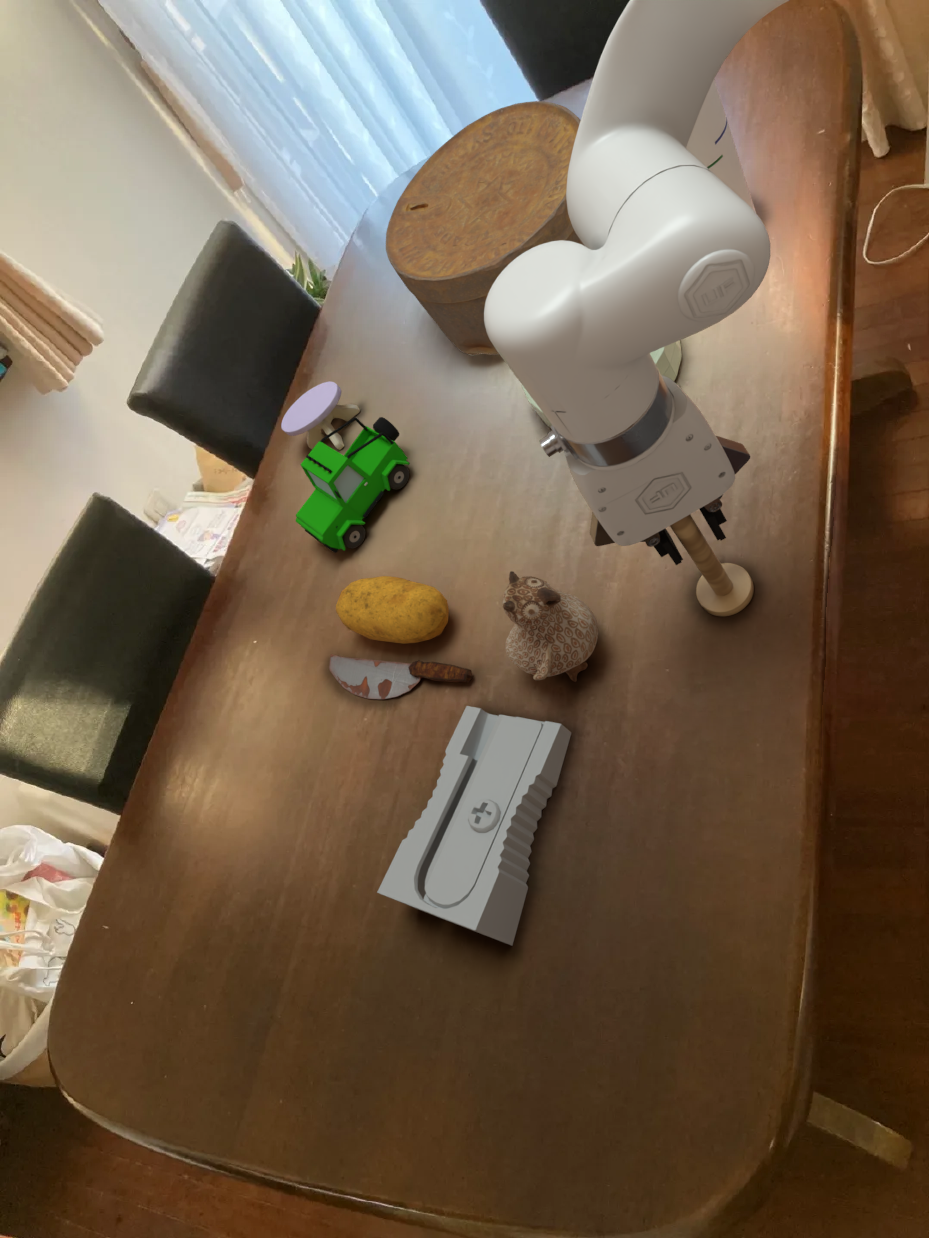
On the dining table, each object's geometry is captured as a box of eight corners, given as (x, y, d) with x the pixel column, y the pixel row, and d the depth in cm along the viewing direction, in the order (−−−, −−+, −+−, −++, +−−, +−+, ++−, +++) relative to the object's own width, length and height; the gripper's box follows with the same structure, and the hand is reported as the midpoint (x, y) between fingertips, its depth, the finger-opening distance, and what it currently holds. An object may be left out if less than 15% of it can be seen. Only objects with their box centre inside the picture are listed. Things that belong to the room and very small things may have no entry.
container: (496, 397, 101) (432, 311, 90) (414, 306, 119) (352, 224, 108) (677, 239, 97) (634, 129, 86) (564, 169, 115) (516, 70, 104)
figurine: (617, 694, 77) (549, 633, 66) (526, 704, 82) (447, 650, 71) (617, 607, 81) (552, 536, 70) (529, 622, 86) (455, 558, 74)
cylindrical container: (769, 206, 92) (705, -14, 72) (734, 258, 91) (660, 50, 72) (715, 201, 96) (641, -8, 77) (681, 250, 96) (599, 52, 77)
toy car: (315, 538, 109) (263, 500, 102) (393, 435, 110) (346, 389, 102) (349, 564, 104) (296, 526, 96) (430, 455, 104) (384, 408, 96)
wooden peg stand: (765, 582, 74) (718, 497, 63) (731, 625, 74) (679, 548, 63) (720, 559, 78) (668, 474, 66) (688, 601, 77) (631, 523, 66)
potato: (376, 588, 100) (340, 562, 94) (472, 599, 91) (438, 571, 86) (356, 642, 98) (317, 619, 92) (451, 659, 89) (415, 635, 84)
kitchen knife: (316, 689, 97) (326, 648, 98) (326, 692, 98) (336, 652, 99) (457, 712, 84) (467, 665, 85) (466, 715, 86) (476, 668, 87)
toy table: (309, 468, 116) (281, 446, 112) (306, 423, 121) (280, 399, 116) (365, 437, 112) (338, 412, 108) (360, 391, 117) (334, 366, 113)
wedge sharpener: (417, 908, 79) (374, 899, 74) (478, 713, 85) (442, 691, 79) (512, 945, 73) (472, 938, 68) (571, 731, 78) (539, 708, 73)
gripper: (525, 514, 55) (623, 620, 70) (752, 376, 50) (808, 521, 65) (495, 440, 60) (594, 555, 74) (702, 306, 55) (765, 456, 69)
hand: (693, 538), depth 69 cm, fingers open, 3 cm apart
